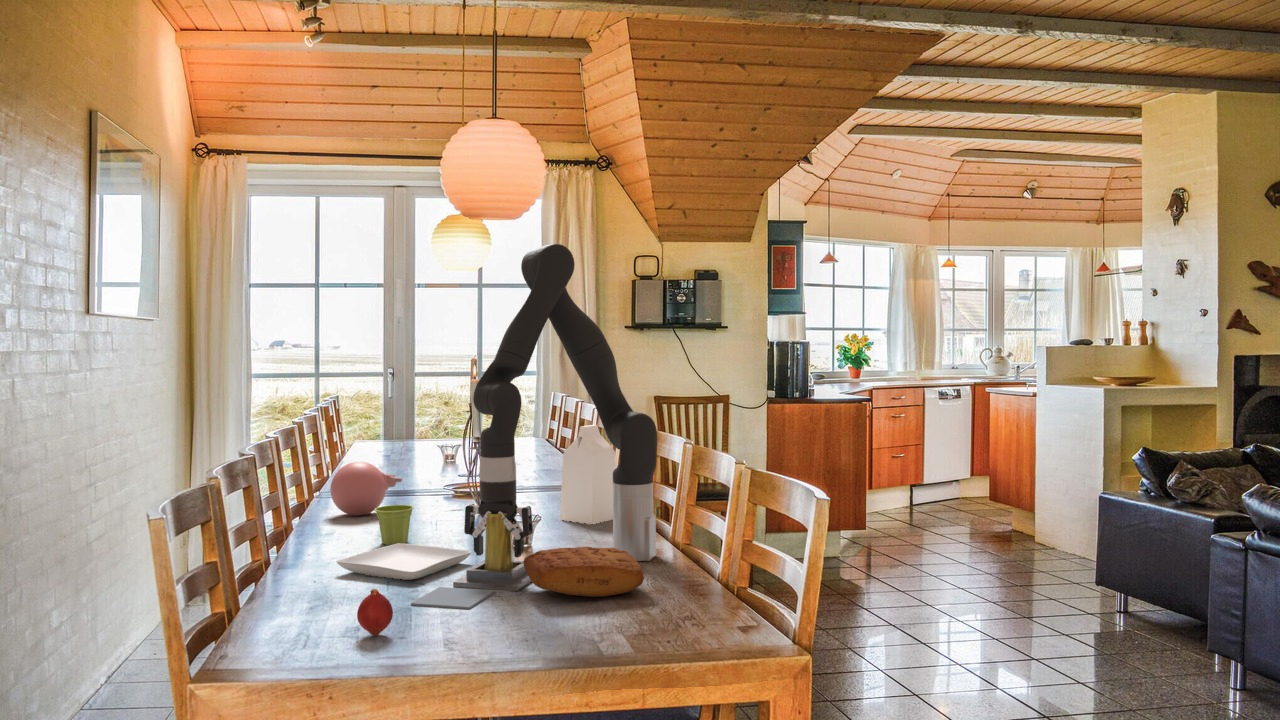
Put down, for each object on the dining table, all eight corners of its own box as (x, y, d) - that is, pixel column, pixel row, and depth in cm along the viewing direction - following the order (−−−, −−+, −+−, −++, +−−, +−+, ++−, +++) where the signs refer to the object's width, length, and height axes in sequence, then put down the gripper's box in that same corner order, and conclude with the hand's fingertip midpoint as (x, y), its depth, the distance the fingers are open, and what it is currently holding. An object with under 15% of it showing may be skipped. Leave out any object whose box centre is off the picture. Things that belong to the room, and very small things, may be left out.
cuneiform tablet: (534, 609, 175) (533, 565, 175) (521, 586, 192) (521, 546, 192) (649, 599, 181) (648, 557, 181) (627, 578, 198) (626, 539, 197)
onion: (361, 630, 163) (360, 584, 163) (395, 629, 163) (395, 583, 163) (354, 641, 157) (353, 593, 157) (389, 640, 157) (389, 592, 157)
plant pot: (367, 545, 232) (366, 509, 232) (390, 537, 240) (390, 503, 240) (398, 548, 228) (398, 512, 228) (421, 540, 237) (421, 505, 237)
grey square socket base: (542, 573, 201) (542, 560, 201) (518, 590, 188) (517, 575, 188) (481, 570, 205) (481, 556, 205) (453, 586, 191) (453, 572, 191)
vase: (508, 584, 193) (507, 514, 192) (479, 583, 194) (478, 514, 194) (517, 577, 199) (517, 509, 198) (490, 576, 200) (489, 508, 200)
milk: (587, 513, 272) (586, 423, 271) (619, 517, 265) (618, 425, 265) (559, 520, 262) (558, 426, 262) (592, 524, 255) (591, 428, 255)
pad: (495, 592, 187) (495, 590, 187) (469, 609, 175) (469, 607, 175) (439, 588, 190) (439, 586, 190) (410, 605, 178) (410, 603, 178)
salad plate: (474, 564, 212) (474, 549, 212) (414, 587, 193) (413, 570, 193) (398, 556, 221) (398, 541, 221) (334, 576, 202) (333, 560, 202)
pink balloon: (405, 516, 269) (404, 462, 269) (331, 521, 262) (330, 466, 262) (400, 507, 284) (399, 456, 283) (329, 512, 277) (329, 460, 277)
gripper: (536, 476, 198) (537, 553, 198) (473, 474, 201) (474, 550, 202) (523, 481, 190) (524, 561, 191) (458, 479, 194) (459, 558, 194)
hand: (498, 555), depth 196 cm, fingers open, 8 cm apart
